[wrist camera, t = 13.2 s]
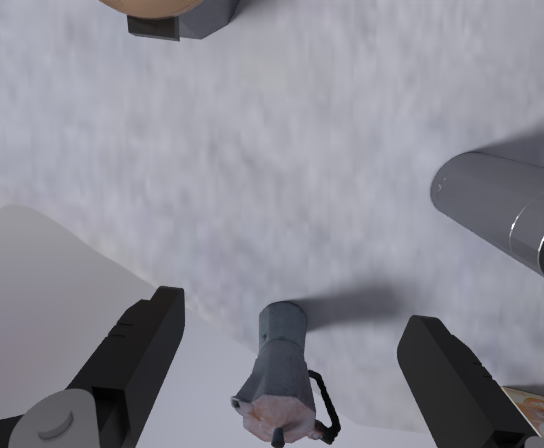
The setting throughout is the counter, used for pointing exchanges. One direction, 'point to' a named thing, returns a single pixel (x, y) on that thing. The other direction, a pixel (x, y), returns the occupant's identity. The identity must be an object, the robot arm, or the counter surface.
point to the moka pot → (283, 383)
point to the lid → (152, 7)
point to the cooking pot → (186, 22)
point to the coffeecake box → (528, 407)
